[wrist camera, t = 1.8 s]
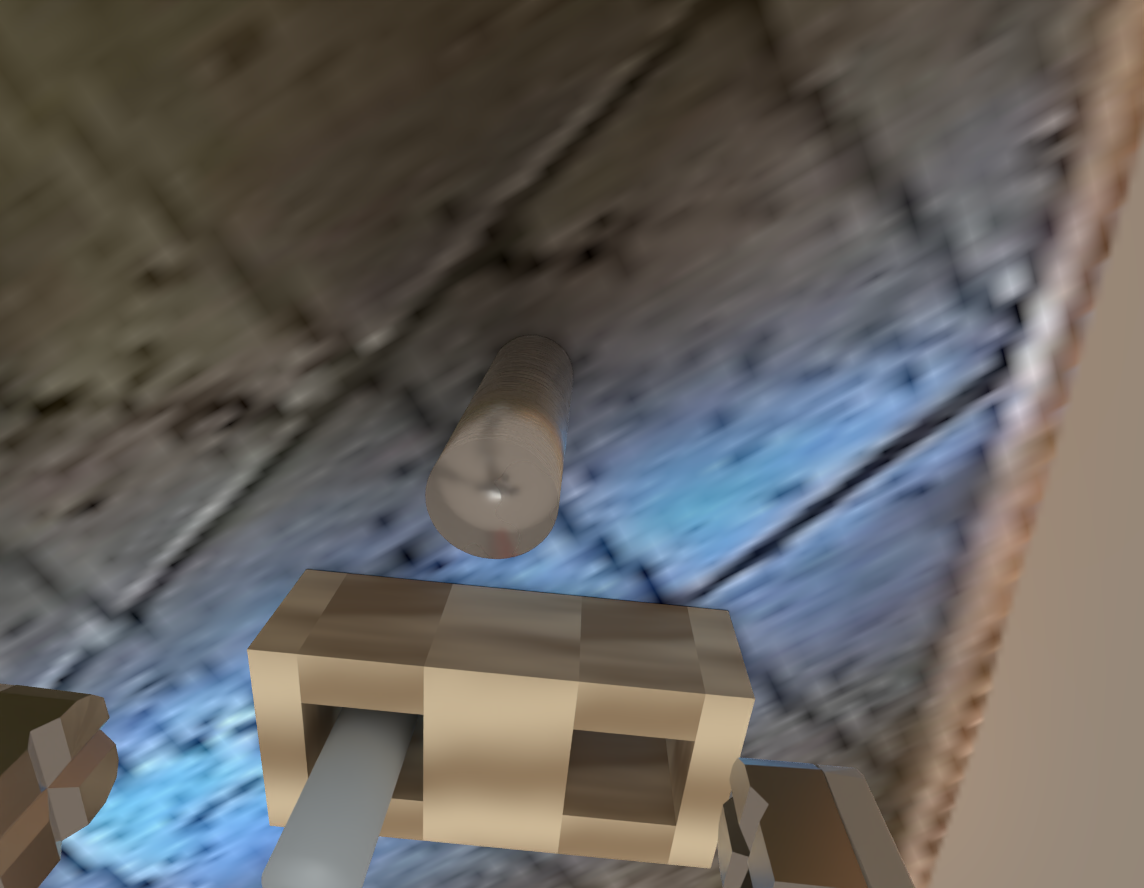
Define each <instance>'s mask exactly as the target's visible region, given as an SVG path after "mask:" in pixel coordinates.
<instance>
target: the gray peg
mask: <svg viewBox="0 0 1144 888" xmlns="http://www.w3.org/2000/svg"><path fill="white" fill-rule="evenodd" d="M418 716H419V714H410V713H400V712H390V711H379V710H369V709H359V708H349V707H342V709H341V711H340V713H339V715H338V717H337V719H336V722H335V724H334V726H333V728H332V730H331V732H330V734H329V736H328V738H327V740H326V742H325V744H324V747H323V749H322V751H321V753H320V755H319V757H318V759H317V761H316V763H315V765H314V767H313V769H312V772H311V774H310V776H309V778H308V780H307V782H306V784H305V786H304V788H303V790H302V792H301V794H300V797H299V799H298V801H297V803H296V805H295V807H294V809H293V811H292V813H291V815H290V817H289V819H288V821H287V824H286V826H285V828H284V830H283V832H282V834H281V836H280V838H279V840H278V842H277V844H276V846H275V849H274V851H273V853H272V855H271V857H270V859H269V861H268V863H267V865H266V867H265V869H264V872H263V874H262V886H263V888H362V886H363V883H364V879H365V876H366V873H367V870H368V867H369V864H370V861H371V858H372V855H373V852H374V849H375V846H376V843H377V840H378V837H379V834H380V831H381V828H382V825H383V822H384V819H385V816H386V813H387V810H388V807H389V804H390V801H391V798H392V795H393V792H394V789H395V786H396V783H397V780H398V777H399V774H400V771H401V768H402V765H403V762H404V759H405V756H406V753H407V750H408V747H409V744H410V741H411V737H412V734H413V731H414V728H415V725H416V722H417V719H418Z"/></svg>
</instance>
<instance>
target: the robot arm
mask: <svg viewBox="0 0 1144 888" xmlns="http://www.w3.org/2000/svg"><path fill="white" fill-rule="evenodd" d="M108 719H109V714H108V711H107V708H106V704H105V701H104V698H103V697H99V696H95V695H91V694H84V693H76V692H68V691H60V690H52V689H44V688H37V687H29V686H21V685H8V684H0V888H38V887H39V886H40V884H41V883H42V882H43V881H44V879H45V878H46V877H47V876H48V874H49V873H50V872H51V871H52V869H53V868H54V867H55V866H56V864H57V863H58V862H59V861H60V857H61V845H62V840H64V839H65V838H67V837H69V836H70V835H72V834H74V833H75V832H77V831H79V830H80V829H82V828H84V827H85V826H87V825H88V824H89V823H90V822H91V821H92V819H93V818H94V817H95V815H96V814H97V813H98V811H99V810H100V809H101V808H102V806H103V805H104V804H105V802H106V800H107V798H108V795H109V793H110V791H111V789H112V786H113V784H114V782H115V780H116V777H117V768H118V754H117V749H116V744H115V743H114V742H113V741H112V740H111V739H110V738H109V737H108V736H107V735H106V734H105V733H104V732H103V731H102V730H101V728H102V727H103V726H104V724H105V723H106V722H107V720H108ZM729 781H730V786H731V790H732V795H733V797H732V798H730V799H729V800H728V801H726V802H725V803H724V804H723V806H722V810H721V815H720V820H719V828H718V856H719V867H720V873H721V879H722V885H723V888H915V886H914V884H913V882H912V879H911V877H910V875H909V873H908V871H907V869H906V867H905V864H904V862H903V860H902V858H901V856H900V854H899V851H898V849H897V847H896V845H895V843H894V841H893V838H892V836H891V834H890V832H889V830H888V828H887V826H886V823H885V821H884V819H883V817H882V815H881V813H880V810H879V808H878V806H877V804H876V802H875V800H874V797H873V795H872V793H871V791H870V789H869V787H868V785H867V782H866V780H865V778H864V776H863V775H862V774H861V773H860V772H859V771H858V770H857V769H856V768H848V767H837V766H826V765H813V764H807V763H795V762H784V761H772V760H761V759H749V758H737V759H736V761H735V762H734V764H733V766H732V770H731V774H730V777H729Z"/></svg>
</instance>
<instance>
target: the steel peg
mask: <svg viewBox="0 0 1144 888" xmlns="http://www.w3.org/2000/svg"><path fill="white" fill-rule="evenodd" d="M572 387H573V367H572V363H571V361H570V359H569V357H568V355H567V353H566V352H565V351H564V350H563V349H562V348H561V346H559V345H558V344H557V343H555V342H554V341H552V340H550V339H548V338H546V337H542V336H537V335H526V336H521V337H518V338H515V339H513V340H511V341H509V342H508V343H507V344H505V345H504V346H503V347H502V348H501V350H500V351H499V352H498V354H497V356H496V357H495V359H494V361H493V363H492V365H491V366H490V368H489V370H488V372H487V373H486V375H485V377H484V379H483V381H482V382H481V384H480V386H479V388H478V389H477V391H476V393H475V395H474V397H473V398H472V400H471V402H470V404H469V405H468V407H467V409H466V411H465V413H464V414H463V416H462V418H461V420H460V421H459V423H458V425H457V427H456V429H455V430H454V432H453V434H452V436H451V437H450V439H449V441H448V443H447V445H446V446H445V448H444V450H443V452H442V453H441V455H440V457H439V459H438V461H437V462H436V464H435V466H434V468H433V469H432V471H431V473H430V476H429V478H428V481H427V486H426V494H425V496H426V506H427V510H428V513H429V516H430V518H431V520H432V522H433V524H434V526H435V527H436V529H437V530H438V532H439V533H440V534H441V535H442V536H443V537H444V538H445V539H446V540H447V541H448V542H449V543H451V544H452V545H454V546H455V547H456V548H458V549H460V550H462V551H464V552H466V553H469V554H471V555H474V556H478V557H482V558H488V559H504V558H510V557H515V556H518V555H521V554H524V553H526V552H528V551H530V550H532V549H533V548H535V547H536V546H537V545H539V544H540V543H541V542H542V541H543V540H544V539H545V538H546V537H547V536H548V534H549V533H550V531H551V530H552V528H553V526H554V524H555V521H556V518H557V514H558V508H559V499H560V491H561V482H562V473H563V465H564V456H565V447H566V439H567V430H568V421H569V413H570V404H571V395H572Z"/></svg>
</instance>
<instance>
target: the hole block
mask: <svg viewBox="0 0 1144 888" xmlns="http://www.w3.org/2000/svg"><path fill="white" fill-rule="evenodd" d="M247 652H248V660H249V667H250V675H251V683H252V691H253V698H254V706H255V714H256V722H257V730H258V737H259V745H260V753H261V761H262V768H263V776H264V784H265V792H266V800H267V807H268V815H269V823H270V826H279V827H285V826H286V824H287V821H288V819H289V817H290V815H291V813H292V811H293V809H294V807H295V805H296V803H297V801H298V799H299V797H300V794H301V792H302V790H303V788H304V786H305V784H306V782H307V780H308V778H309V776H310V774H311V772H312V769H313V767H314V765H315V763H316V761H317V759H318V757H319V755H320V753H321V751H322V749H323V747H324V744H325V742H326V740H327V738H328V736H329V734H330V732H331V730H332V728H333V726H334V724H335V722H336V719H337V717H338V715H339V713H340V711H341V709H342V707H349V708H359V709H369V710H379V711H390V712H400V713H410V714H419V716H418V719H417V722H416V725H415V728H414V731H413V734H412V737H411V741H410V744H409V747H408V750H407V753H406V756H405V759H404V762H403V765H402V768H401V771H400V774H399V777H398V780H397V783H396V786H395V789H394V792H393V795H392V798H391V801H390V804H389V807H388V810H387V813H386V816H385V819H384V822H383V825H382V828H381V831H380V834H379V836H382V837H393V838H403V839H413V840H424V841H434V842H444V843H455V844H465V845H475V846H486V847H496V848H506V849H517V850H527V851H537V852H547V853H558V854H568V855H578V856H589V857H599V858H609V859H620V860H630V861H640V862H651V863H661V864H671V865H682V866H692V867H702V868H711V864H712V861H713V857H714V853H715V849H716V845H717V842H718V828H719V820H720V815H721V810H722V806H723V804H724V803H725V802H726V801H728V800H729V796H730V792H731V786H730V781H729V777H730V774H731V770H732V766H733V764H734V762H735V761H736V759H737V758H740V754H741V750H742V746H743V743H744V739H745V735H746V731H747V727H748V724H749V720H750V716H751V712H752V708H753V705H754V701H755V697H754V694H753V691H752V687H751V684H750V681H749V678H748V674H747V671H746V668H745V664H744V661H743V658H742V655H741V651H740V648H739V645H738V641H737V638H736V635H735V631H734V628H733V625H732V622H731V618H730V615H729V612H728V611H725V610H715V609H705V608H694V607H684V606H674V605H664V604H654V603H643V602H633V601H623V600H613V599H603V598H592V597H582V596H572V595H562V594H552V593H541V592H531V591H521V590H511V589H501V588H491V587H480V586H470V585H460V584H450V583H440V582H429V581H419V580H409V579H399V578H389V577H378V576H368V575H358V574H348V573H338V572H327V571H317V570H307V569H306V570H305V572H304V573H303V575H302V576H301V577H300V579H299V580H298V581H297V583H296V584H295V585H294V587H293V588H292V589H291V591H290V592H289V593H288V595H287V596H286V597H285V599H284V600H283V602H282V603H281V604H280V606H279V607H278V608H277V610H276V611H275V612H274V614H273V615H272V616H271V618H270V619H269V620H268V622H267V623H266V625H265V626H264V627H263V629H262V630H261V631H260V633H259V634H258V635H257V637H256V638H255V639H254V641H253V642H252V643H251V645H250V646H249V647H248V649H247Z"/></svg>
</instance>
